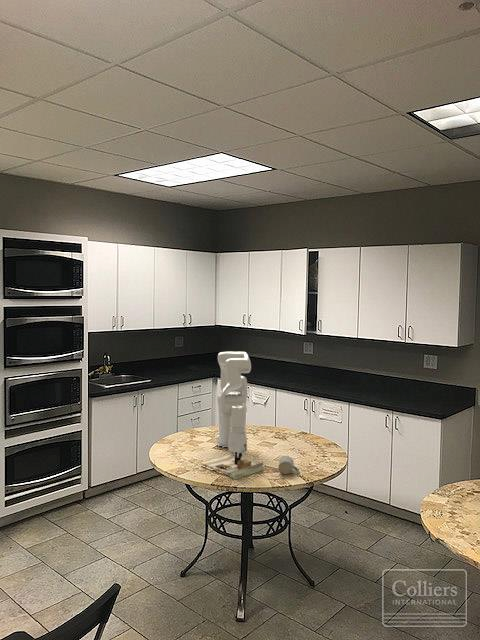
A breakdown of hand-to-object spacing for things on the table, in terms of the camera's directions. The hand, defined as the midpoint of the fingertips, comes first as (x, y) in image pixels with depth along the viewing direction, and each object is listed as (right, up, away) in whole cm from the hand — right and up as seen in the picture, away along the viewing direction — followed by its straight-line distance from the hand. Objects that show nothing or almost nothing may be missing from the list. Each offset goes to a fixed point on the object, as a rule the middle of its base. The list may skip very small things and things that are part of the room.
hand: (237, 464), depth 275 cm
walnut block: (+3, -1, -3) cm, 5 cm away
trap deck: (-3, -3, +3) cm, 5 cm away
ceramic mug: (+26, -4, -2) cm, 26 cm away
